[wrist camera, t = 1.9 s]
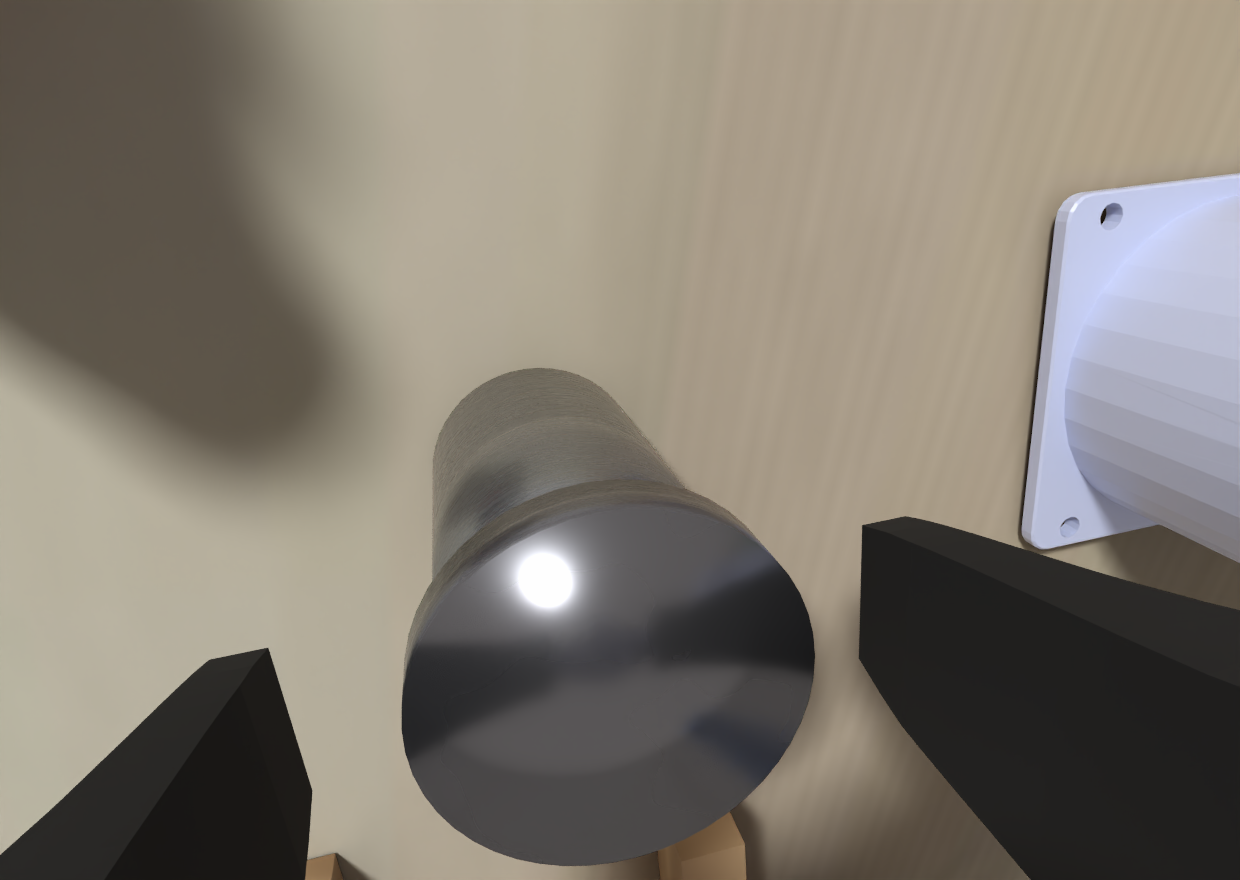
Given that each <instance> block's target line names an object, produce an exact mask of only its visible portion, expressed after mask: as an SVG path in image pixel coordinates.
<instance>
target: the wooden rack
mask: <svg viewBox="0 0 1240 880" xmlns="http://www.w3.org/2000/svg"><path fill="white" fill-rule="evenodd" d="M657 852H658V862H659V872H660V880H746V859H745V843H744V841H743V839H742V837H741V835H740V833H739V830H738V828H737V826H736V824H735V822H734V820H733V817H732V815H731V813H730V812H728V813H727V814H726V815H724V816H723V817H721V818H720V819H718V820H717V821H715V822H714V823H712V824H711V825H709V826H708V827H706V828H705V829H703V830H701V831H699V832H697V833H695V834H694V835H692V836H690V837H688V838H686V839H684V840H682V841H680V842H677V843H675V844H673V845H671V846H668V847H666V848H664V849H661V850H658V851H657ZM305 880H343V877H342V874H341V871H340V868H339V864H338V861H337V858H336V855H335V853H334V854H330V855H326V856H322V857H318V858H314V859H311V860H307V865H306V876H305Z"/></svg>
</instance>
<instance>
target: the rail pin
mask: <svg viewBox="0 0 1240 880" xmlns="http://www.w3.org/2000/svg"><path fill="white" fill-rule="evenodd" d="M814 662H815V651H814V638H813V632H812V627H811V623H810V619H809V614H808V612H807V609H806V607H805V604H804V602H803V599H802V597H801V594H800V593H799V591H798V589H797V588H796V586H795V584H794V583H793V581H792V580H791V578H790V576H789V575H788V574H787V572H786V571H785V570H784V569H783V568H782V567H781V565H780V564H779V563H778V562H777V561H776V560H775V558H774V557H773V556H772V555H771V554H770V553H769V552H768V550H767V549H766V548H765V547H764V546H763V545H762V544H761V543H760V541H759V540H758V539H757V538H756V537H755V536H754V535H753V533H752V532H751V531H750V530H749V529H748V528H747V527H746V526H745V525H744V524H743V523H742V522H741V521H740V520H738V519H737V518H736V517H735V516H734V515H733V514H731V513H730V512H729V511H728V510H726V509H724V508H723V507H721V506H719V505H718V504H716V503H715V502H713V501H711V500H710V499H708V498H705V497H703V496H701V495H698V494H696V493H694V492H691V491H689V490H687V489H685V488H684V487H683V485H682V484H681V483H680V482H679V480H678V479H677V478H676V477H675V475H674V474H673V473H672V472H671V470H670V469H669V468H668V467H667V465H666V464H665V463H664V462H663V460H662V459H661V458H660V456H659V455H658V454H657V453H656V451H655V450H654V449H653V448H652V446H651V445H650V444H649V443H648V441H647V440H646V439H645V438H644V436H643V435H642V434H641V432H640V431H639V430H638V429H637V427H636V426H635V425H634V424H633V422H632V421H631V420H630V419H629V417H628V416H627V415H626V414H625V412H624V411H623V410H622V409H621V407H620V406H619V405H618V404H617V403H616V401H615V400H614V399H613V398H612V397H611V396H610V395H609V394H608V393H607V392H605V391H604V390H603V389H602V388H601V387H599V386H598V385H596V384H595V383H593V382H591V381H590V380H588V379H585V378H583V377H581V376H579V375H576V374H573V373H570V372H567V371H562V370H556V369H547V368H533V369H523V370H518V371H514V372H509V373H507V374H504V375H501V376H498V377H496V378H494V379H492V380H490V381H488V382H486V383H484V384H482V385H481V386H479V387H478V388H476V389H475V390H473V391H472V392H471V393H470V394H469V395H467V396H466V397H465V398H464V399H463V400H462V401H461V402H460V403H459V404H458V405H457V407H456V408H455V409H454V410H453V411H452V413H451V414H450V416H449V417H448V419H447V420H446V422H445V424H444V426H443V428H442V430H441V432H440V434H439V437H438V440H437V443H436V446H435V452H434V458H433V552H432V583H431V584H430V586H429V587H428V589H427V591H426V593H425V595H424V597H423V599H422V601H421V603H420V605H419V607H418V609H417V611H416V614H415V617H414V620H413V623H412V626H411V629H410V632H409V636H408V642H407V647H406V653H405V662H404V678H403V695H402V734H403V741H404V747H405V753H406V756H407V759H408V762H409V765H410V768H411V771H412V774H413V776H414V778H415V780H416V782H417V783H418V785H419V787H420V789H421V791H422V793H423V794H424V796H425V797H426V798H427V800H428V801H429V802H430V804H431V805H432V806H433V807H434V809H435V810H436V811H437V812H438V813H439V814H440V815H441V816H442V817H443V818H444V819H445V820H446V821H447V822H448V823H449V824H450V825H451V826H453V827H454V828H455V829H456V830H458V831H459V832H461V833H462V834H464V835H465V836H467V837H468V838H469V839H471V840H472V841H474V842H476V843H478V844H480V845H482V846H484V847H486V848H488V849H490V850H492V851H495V852H498V853H501V854H504V855H506V856H509V857H512V858H515V859H519V860H524V861H529V862H534V863H539V864H548V865H559V866H587V865H597V864H605V863H613V862H618V861H622V860H627V859H631V858H636V857H640V856H643V855H646V854H649V853H652V852H655V851H658V850H661V849H664V848H666V847H668V846H671V845H673V844H675V843H677V842H680V841H682V840H684V839H686V838H688V837H690V836H692V835H694V834H695V833H697V832H699V831H701V830H703V829H705V828H706V827H708V826H709V825H711V824H712V823H714V822H715V821H717V820H718V819H720V818H721V817H723V816H724V815H726V814H727V813H728V812H730V811H731V810H732V809H733V808H734V807H736V806H737V805H738V804H739V803H740V802H742V801H743V800H744V799H745V798H746V797H747V796H748V795H749V794H750V793H751V792H752V791H753V790H754V789H755V788H756V787H757V786H758V785H759V784H760V783H761V782H762V781H763V780H764V779H765V778H766V777H767V775H768V774H769V773H770V772H771V770H772V769H773V768H774V767H775V765H776V764H777V763H778V762H779V760H780V759H781V757H782V755H783V754H784V752H785V751H786V749H787V748H788V746H789V745H790V743H791V741H792V739H793V737H794V735H795V733H796V731H797V729H798V727H799V725H800V723H801V721H802V718H803V715H804V712H805V709H806V707H807V704H808V701H809V697H810V692H811V687H812V682H813V676H814Z"/></svg>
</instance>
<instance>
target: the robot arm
mask: <svg viewBox="0 0 1240 880" xmlns="http://www.w3.org/2000/svg"><path fill="white" fill-rule="evenodd" d="M1105 207H1106V211H1107V215H1106V218H1105V221H1104V222H1103V223H1102V224H1101V222H1100V217H1101V214H1102V211H1103V210H1104V209H1105ZM1065 520H1066V521H1065ZM1064 521H1065V523H1064V524H1063V525H1062V523H1063V522H1064ZM1061 525H1062V527H1061ZM1155 525H1162V526H1164V527H1166V528H1168V529H1170V530H1172V531H1174V532H1176V533H1178V534H1181V535H1183V536H1185V537H1187V538H1189V539H1191V540H1193V541H1195V542H1197V543H1199V544H1201V545H1203V546H1205V547H1207V548H1209V549H1211V550H1213V551H1216V552H1218V553H1220V554H1222V555H1224V556H1226V557H1228V558H1230V559H1232V560H1234V561H1236V562H1238V563H1240V173H1236V174H1228V175H1220V176H1212V177H1203V178H1195V179H1187V180H1179V181H1170V182H1162V183H1154V184H1146V185H1138V186H1129V187H1121V188H1113V189H1105V190H1097V191H1088V192H1080V193H1077V194H1074V195H1071V196H1070V197H1069V198H1068V199H1067V200H1065V201H1064V202H1063V204H1062V205H1061V207H1060V209H1059V210H1058V213H1057V217H1056V220H1055V228H1054V237H1053V246H1052V256H1051V265H1050V274H1049V283H1048V292H1047V301H1046V310H1045V320H1044V329H1043V338H1042V347H1041V356H1040V365H1039V374H1038V383H1037V393H1036V402H1035V411H1034V420H1033V429H1032V438H1031V447H1030V457H1029V466H1028V475H1027V484H1026V493H1025V502H1024V511H1023V520H1022V536H1023V538H1024V539H1025V541H1027V542H1028V543H1030V544H1031V545H1033V546H1035V547H1037V548H1039V549H1050V548H1055V547H1060V546H1064V545H1069V544H1073V543H1078V542H1082V541H1087V540H1091V539H1096V538H1100V537H1105V536H1110V535H1114V534H1119V533H1123V532H1128V531H1132V530H1137V529H1141V528H1146V527H1150V526H1155ZM1060 527H1061V528H1060ZM859 659H860V661H861V663H862V664H863V666H864V667H865V669H866V671H867V672H868V674H869V676H870V677H871V679H872V681H873V682H874V684H875V685H876V687H877V689H878V690H879V692H880V694H881V695H882V697H883V698H884V700H885V701H886V703H887V704H888V706H889V707H890V709H891V710H892V712H893V713H894V715H895V716H896V718H897V719H898V721H899V722H900V724H901V725H902V727H903V728H904V729H905V730H906V732H907V733H908V734H909V735H910V737H911V738H912V739H913V740H914V741H915V743H916V744H917V745H918V746H919V748H920V749H921V750H922V751H923V752H924V754H925V755H926V756H927V757H928V758H929V760H930V761H931V762H932V763H933V764H934V766H935V767H936V768H937V769H938V770H939V772H940V773H941V774H942V775H943V776H944V778H945V779H946V780H947V781H948V782H949V784H950V785H951V786H952V787H953V788H954V789H955V791H956V792H957V793H958V794H959V795H960V797H961V798H962V799H963V800H964V801H965V802H966V804H967V805H968V806H969V807H970V808H971V810H972V811H973V812H974V813H975V814H976V815H977V817H978V818H979V819H980V820H981V821H982V823H983V824H984V825H985V826H986V827H987V828H988V830H989V831H990V832H991V833H992V834H993V836H994V837H995V838H996V839H997V840H998V841H999V843H1000V844H1001V845H1002V846H1003V847H1004V849H1005V850H1006V851H1007V852H1008V853H1009V855H1010V856H1011V857H1012V858H1013V859H1014V860H1015V862H1016V863H1017V864H1018V865H1019V866H1020V868H1021V869H1022V870H1023V871H1024V872H1025V873H1026V875H1027V876H1028V877H1029V878H1030V879H1031V880H1240V610H1236V609H1232V608H1228V607H1223V606H1219V605H1215V604H1211V603H1207V602H1203V601H1199V600H1196V599H1192V598H1188V597H1185V596H1181V595H1177V594H1174V593H1170V592H1166V591H1162V590H1159V589H1155V588H1151V587H1148V586H1144V585H1140V584H1136V583H1133V582H1130V581H1126V580H1123V579H1119V578H1116V577H1112V576H1109V575H1105V574H1102V573H1099V572H1095V571H1092V570H1089V569H1085V568H1082V567H1079V566H1075V565H1072V564H1069V563H1066V562H1063V561H1059V560H1056V559H1053V558H1050V557H1046V556H1043V555H1040V554H1037V553H1034V552H1030V551H1027V550H1024V549H1021V548H1018V547H1014V546H1011V545H1008V544H1005V543H1002V542H998V541H995V540H992V539H989V538H986V537H982V536H979V535H976V534H973V533H969V532H966V531H962V530H959V529H956V528H952V527H949V526H945V525H941V524H938V523H934V522H930V521H926V520H921V519H916V518H911V517H906V516H905V517H900V518H895V519H890V520H885V521H881V522H876V523H871V524H866V525H862V559H861V598H860V638H859ZM311 802H312V788H311V785H310V782H309V779H308V775H307V772H306V769H305V766H304V762H303V759H302V756H301V753H300V749H299V746H298V743H297V740H296V736H295V733H294V730H293V727H292V723H291V720H290V717H289V714H288V710H287V707H286V704H285V701H284V697H283V694H282V691H281V688H280V684H279V681H278V678H277V675H276V671H275V668H274V665H273V662H272V658H271V655H270V652H269V649H268V648H264V649H260V650H255V651H250V652H245V653H240V654H235V655H230V656H226V657H221V658H216V659H211V660H209V661H207V662H206V663H205V664H204V665H203V666H201V667H200V668H199V669H198V670H197V671H195V672H194V673H193V674H192V675H191V676H190V677H189V678H188V679H187V680H186V681H185V682H183V683H182V684H181V685H180V686H179V687H178V688H177V689H176V690H175V691H174V692H173V693H172V694H171V695H170V696H169V697H168V698H167V699H166V700H165V701H163V702H162V703H161V704H160V705H159V706H158V707H157V708H156V709H155V710H154V711H153V712H152V713H151V714H150V715H149V716H148V717H147V718H146V719H145V720H144V721H143V722H142V723H141V724H140V725H139V726H138V727H137V728H136V729H135V730H134V731H133V732H132V733H131V734H130V735H129V736H128V737H126V738H125V739H124V740H123V741H122V742H121V743H120V744H119V745H118V746H117V747H116V748H115V749H114V750H113V751H112V752H111V753H110V754H109V755H108V756H107V757H106V758H105V759H104V760H103V761H101V762H100V763H99V764H98V765H97V766H96V767H95V768H94V769H93V770H92V771H91V772H90V773H89V774H88V775H87V776H86V777H85V778H84V779H83V780H82V781H81V782H80V783H79V784H77V785H76V786H75V787H74V788H73V789H72V790H71V791H70V792H69V793H68V794H67V795H66V796H65V797H64V798H63V799H62V800H61V801H60V802H59V803H58V804H56V805H55V806H54V807H53V808H52V809H51V810H50V811H49V812H48V813H47V814H45V815H44V816H43V817H42V818H41V819H40V820H39V821H38V822H37V823H35V824H34V825H33V826H32V827H31V828H30V829H29V830H28V831H27V832H25V833H24V834H23V835H22V836H21V837H20V838H19V839H18V840H16V841H15V842H14V843H13V844H12V845H11V846H10V847H9V848H8V849H6V850H5V851H4V852H3V853H2V854H1V855H0V880H305V876H306V865H307V854H308V844H309V831H310V817H311Z"/></svg>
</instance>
